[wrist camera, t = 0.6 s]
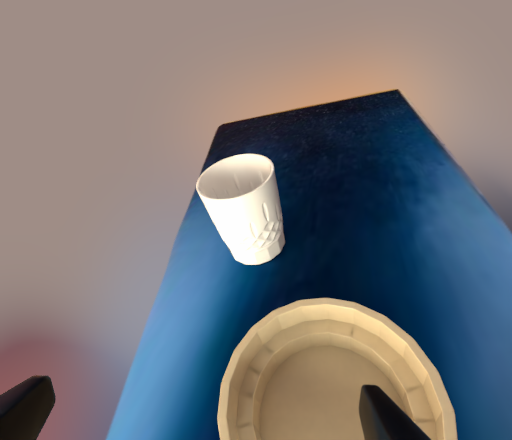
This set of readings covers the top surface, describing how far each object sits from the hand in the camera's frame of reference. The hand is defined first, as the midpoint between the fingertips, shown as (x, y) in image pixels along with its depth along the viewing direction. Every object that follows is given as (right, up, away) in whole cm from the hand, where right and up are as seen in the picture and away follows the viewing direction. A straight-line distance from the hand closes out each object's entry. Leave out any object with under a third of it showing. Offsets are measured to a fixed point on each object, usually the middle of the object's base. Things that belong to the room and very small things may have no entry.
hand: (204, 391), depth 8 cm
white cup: (+2, +2, +27) cm, 27 cm away
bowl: (+7, -9, +12) cm, 17 cm away
